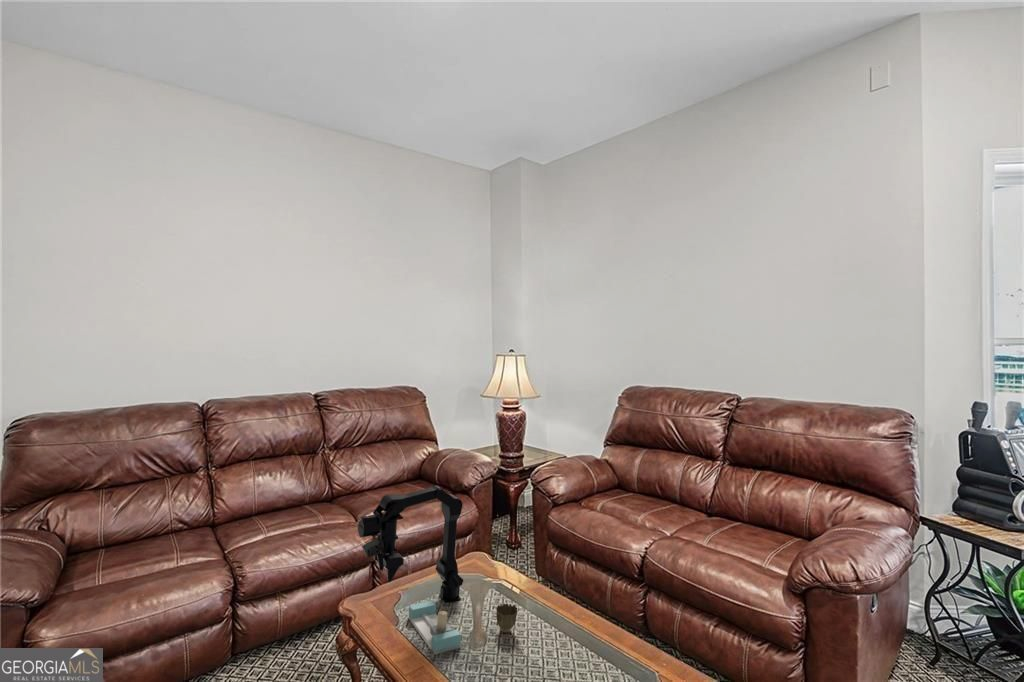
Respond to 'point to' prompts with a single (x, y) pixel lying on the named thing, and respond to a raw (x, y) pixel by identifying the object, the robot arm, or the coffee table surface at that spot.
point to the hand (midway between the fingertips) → (385, 575)
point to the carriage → (441, 624)
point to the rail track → (426, 618)
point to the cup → (506, 617)
